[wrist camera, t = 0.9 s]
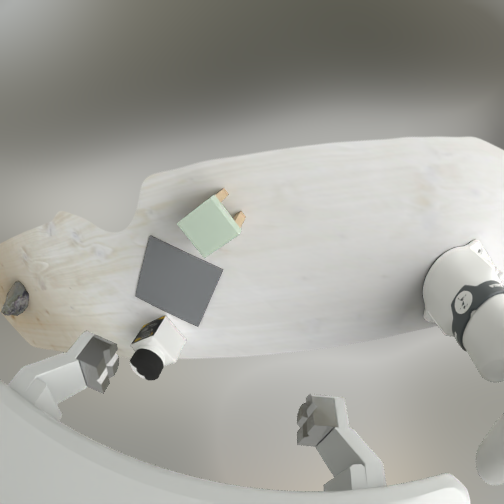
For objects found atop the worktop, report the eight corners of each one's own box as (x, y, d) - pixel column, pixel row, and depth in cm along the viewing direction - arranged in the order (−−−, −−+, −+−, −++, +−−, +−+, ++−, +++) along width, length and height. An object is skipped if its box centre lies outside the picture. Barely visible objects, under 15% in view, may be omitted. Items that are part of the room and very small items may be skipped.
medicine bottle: (165, 314, 52) (141, 354, 42) (187, 339, 54) (168, 381, 44) (143, 324, 55) (118, 362, 44) (164, 348, 57) (143, 387, 46)
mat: (223, 269, 47) (222, 270, 46) (198, 325, 52) (198, 326, 52) (150, 235, 46) (149, 236, 46) (136, 295, 52) (135, 296, 51)
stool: (224, 186, 41) (210, 197, 34) (247, 217, 43) (239, 235, 35) (195, 208, 43) (176, 223, 36) (217, 237, 45) (204, 258, 37)
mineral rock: (19, 310, 63) (0, 326, 54) (5, 280, 59) (-15, 296, 50) (37, 311, 61) (17, 330, 52) (23, 279, 57) (0, 296, 48)
